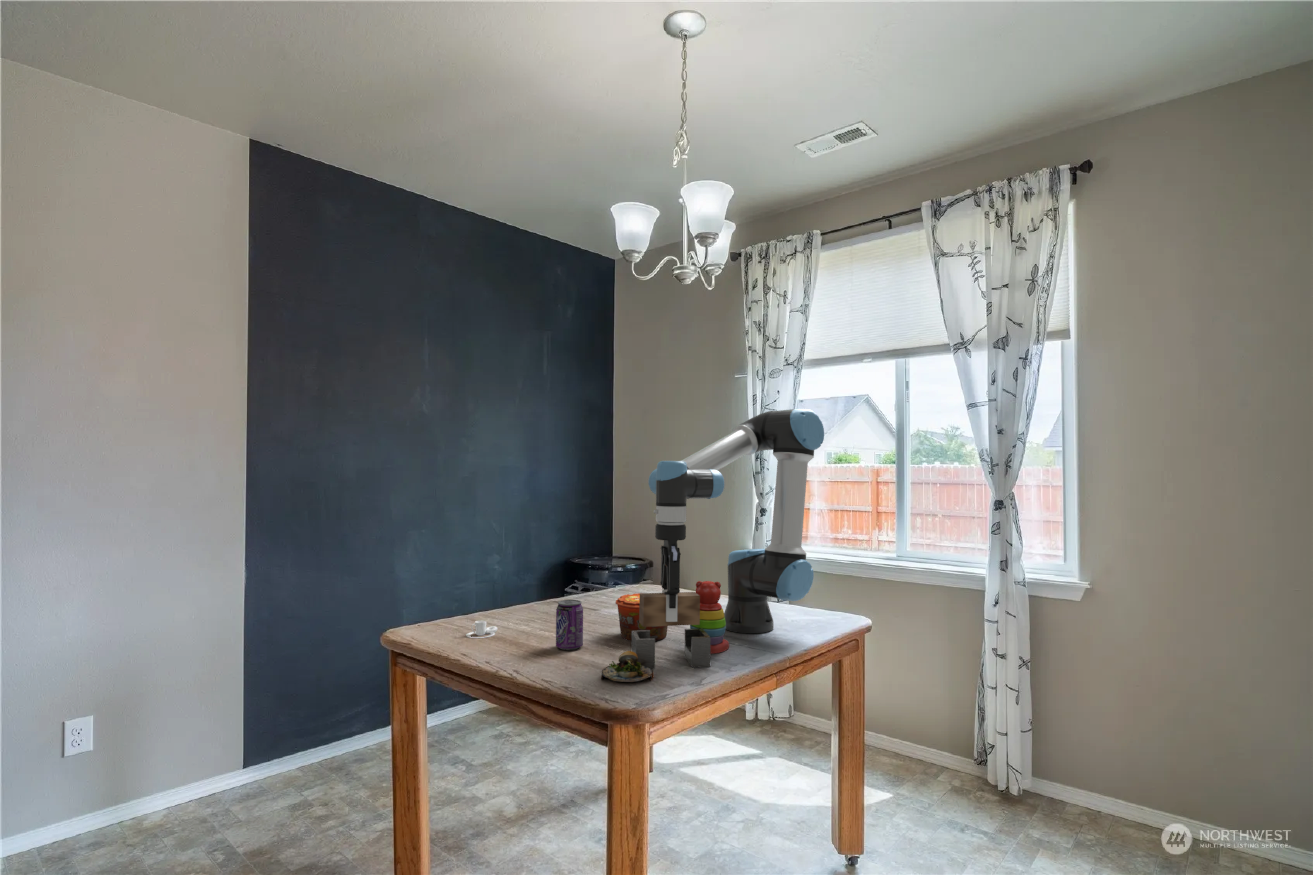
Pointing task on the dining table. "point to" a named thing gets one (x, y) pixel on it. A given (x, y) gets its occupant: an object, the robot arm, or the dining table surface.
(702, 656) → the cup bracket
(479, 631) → the teacup and saucer
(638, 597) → the food container
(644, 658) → the cup bracket
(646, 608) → the walnut rail
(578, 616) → the beverage can
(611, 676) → the burger
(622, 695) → the dining table surface
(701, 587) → the stacking bear
